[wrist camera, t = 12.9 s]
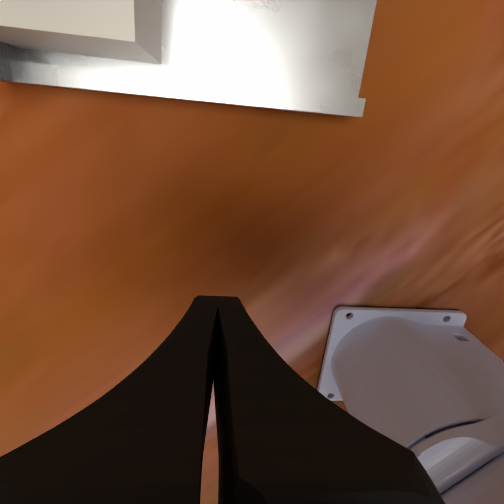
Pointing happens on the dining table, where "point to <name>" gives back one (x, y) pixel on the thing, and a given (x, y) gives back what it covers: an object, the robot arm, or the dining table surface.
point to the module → (85, 27)
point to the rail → (229, 57)
